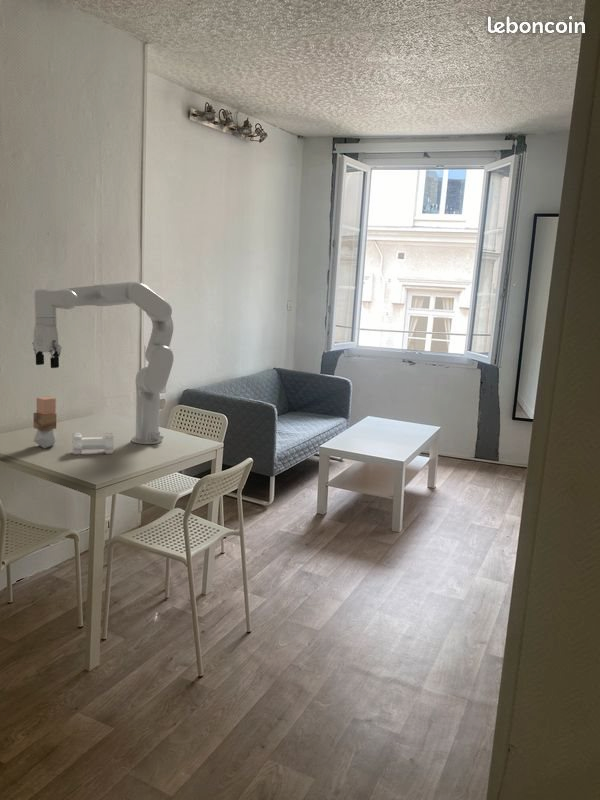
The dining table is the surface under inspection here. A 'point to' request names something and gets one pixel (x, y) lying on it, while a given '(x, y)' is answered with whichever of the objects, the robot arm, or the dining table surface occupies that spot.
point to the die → (45, 438)
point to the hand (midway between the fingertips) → (47, 366)
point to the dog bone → (93, 443)
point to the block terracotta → (46, 405)
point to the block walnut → (44, 421)
